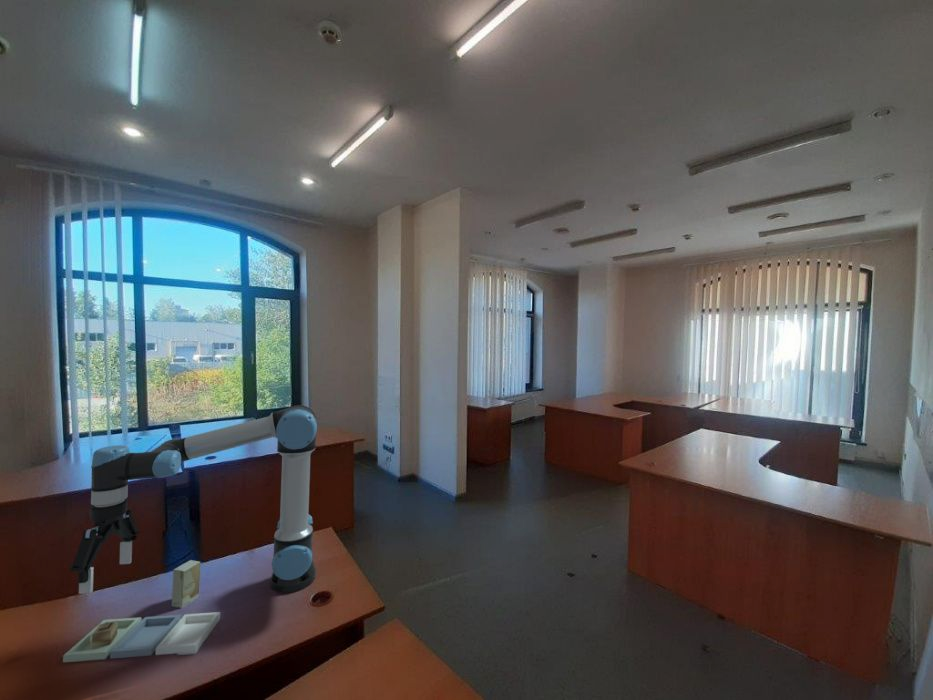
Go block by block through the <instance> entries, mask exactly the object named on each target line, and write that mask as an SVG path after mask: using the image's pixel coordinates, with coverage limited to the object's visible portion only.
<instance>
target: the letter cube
mask: <svg viewBox="0 0 933 700" xmlns="http://www.w3.org/2000/svg"><path fill="white" fill-rule="evenodd" d="M99 624H100V623H99ZM99 624H98V625H99ZM98 625H97V626H98ZM97 626H96V627H97ZM117 629H118V621H114V622H109V623H104V624H100V625H99V626H98V627H97V629H96V630H95V631H94V633H93V634H92V649H93V648H98V647H102V646H107V645H110V644H111V643H112V642H113V640H114V639H115V637H116V636H117Z"/></svg>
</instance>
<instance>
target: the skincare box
mask: <svg viewBox="0 0 933 700" xmlns="http://www.w3.org/2000/svg"><path fill="white" fill-rule="evenodd" d="M200 575H201V561H199V560H192V559H190V560H188V561H187V562H184V563H182V564H181V565H179V566H178V567H176V568H174V569H173V574H172V578H173V579H172V591H171V592H172V593H171V607H174V608H180V609H183V608H185V607H186V606H187V605H189V604H191V603H192V602H193V601H196V599H197V598H199V596H200V582H201V581H200V578H201V576H200Z"/></svg>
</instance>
